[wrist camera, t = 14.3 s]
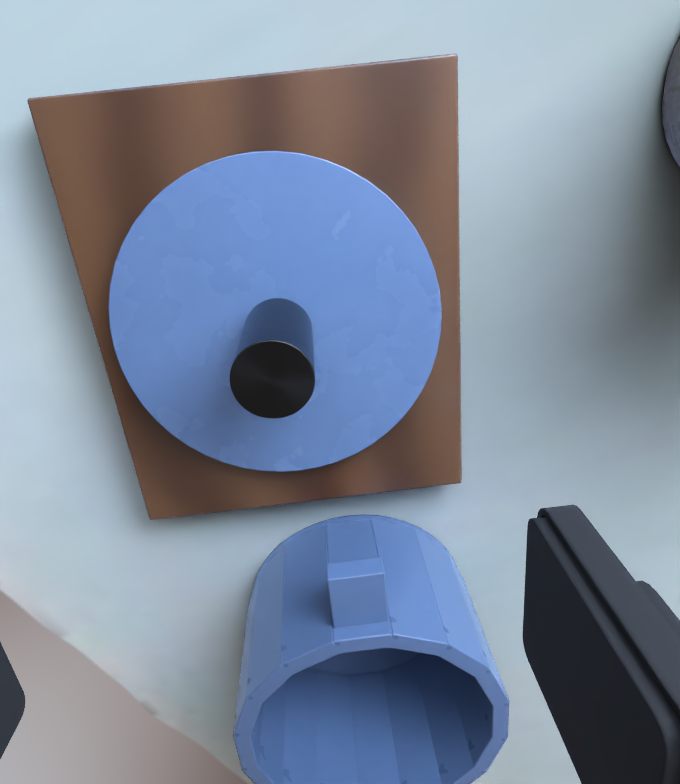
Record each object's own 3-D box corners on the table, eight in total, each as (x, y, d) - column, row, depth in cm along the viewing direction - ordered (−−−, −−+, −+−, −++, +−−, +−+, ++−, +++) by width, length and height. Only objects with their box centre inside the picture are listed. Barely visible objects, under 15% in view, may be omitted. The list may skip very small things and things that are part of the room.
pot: (459, 460, 30) (515, 569, 22) (462, 690, 37) (504, 832, 30) (225, 488, 30) (197, 608, 22) (274, 714, 37) (267, 864, 29)
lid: (430, 132, 21) (482, 125, 15) (439, 441, 27) (479, 526, 21) (76, 170, 21) (-16, 178, 15) (159, 474, 27) (116, 570, 21)
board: (445, 61, 22) (458, 52, 20) (452, 463, 30) (462, 483, 28) (48, 102, 22) (25, 98, 20) (158, 498, 30) (149, 521, 28)
